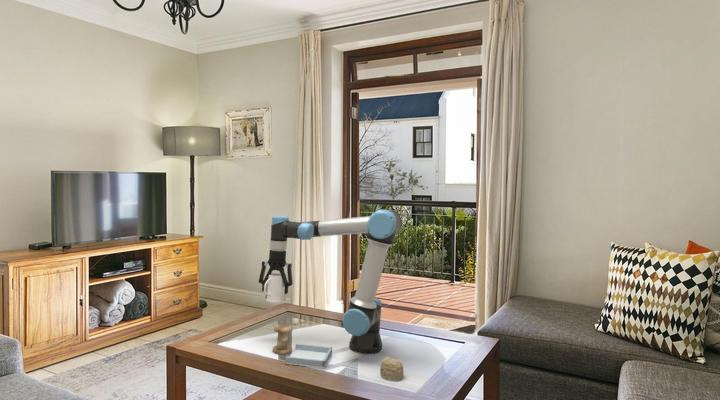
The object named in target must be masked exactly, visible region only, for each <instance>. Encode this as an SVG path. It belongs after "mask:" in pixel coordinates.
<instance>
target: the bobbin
mask: <svg viewBox="0 0 720 400" xmlns="http://www.w3.org/2000/svg"><path fill="white" fill-rule="evenodd" d="M293 329H294V327H293V326H292V325H290V324H276V325H274V326H273V331H274V332H276V333H277V336H276V338H277V340H276V345H274V346H272V349H271V350H272V353H273V354H276V355H287V354H290V353H291V352H292V346H289V345H288V342H289V341H288V338H289V333H291V332H292V331H293Z"/></svg>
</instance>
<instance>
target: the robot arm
mask: <svg viewBox="0 0 720 400" xmlns="http://www.w3.org/2000/svg"><path fill="white" fill-rule="evenodd" d="M270 226H271V227H270V240H269V241H270V242H269V250H268V252H269V255H268V260H264V261H261V269H260V275H259V277H258V284H261V292H263V300H266V297H267V295H266V294H265V292H264V286H265V283H266V281H267V280H268V277H269V275H271V273H273V271H277V272H278V273H281V276H282V279H283V282H284V285H285V286H284V287H283V293H282V301H283V302H284V303H285V301H286V297H287V295H288V293H289V287H291V286H292V285H293V283H294V282H293V274H292V273H293V272H292V267H293V264H292V262H291V263H289V262H287V259H286V258H287V251H286V250H287V247H288V246H287V245H288V239H295V240H297V239H298V240H302V241H304V240H305V241H306V240H307V241H309V240H312V239H313V238H319V237H320V238H321V237H332V236H343V235H346V236H347V235H357V234H358V235H359V234H367V235H366V236H365V237H366V239H367V241H368V245H367V248H366V252H365V256H364V259H363V263H362V267H361V272H360V276H359V279H358V283H357V288H356V291H355V294H354V296H352V297H351V298H350V300H349V302H348V303H349V304H348V307H347V310H346V311H345V312H344V314H343V316H342V320H341V321H342V325H343V329H344V330H345V332H347V333H348V334H350V335H351V336H350V337H351V338H350V339H349V345H348V348H349V349H350V350H351V351H352V352H355V353H358V354H359V353H360V354H365V355H367V354H368V355H374V354H378V353H381V352H382V351H383V342H382V337H381V333H380V331H381V330H380V327H381V316H382V307H383V305H382V300H381V299H379V298H376V296H377V292H378V288H379V285H380V282H381V277H382V273H383V270H384V266H385V263H386V259H387V254H388V250H389V249H390V247H392V246H394V242H395V239H396V235H397V234H399V232H400V231H401V229H402V226H403V219H402V216H401V215H400V213H398V212H397V211H395V210H392V209H377V210H376V211H375V212H373V213H371V215H368V216H366V215H365V216H358V217H357V216H355V217H348V218H346V217H345V218H336V219H335V218H334V219H324V220H311V221H290V218H289V217H288V216H285V215H273V216H272V219H271V225H270ZM267 266H269V268H268V270H267ZM285 267H286V268H287V269H286V270H287V274H286V273H285ZM266 270H267V272H266ZM265 274H266V275H265ZM285 274H286V275H285ZM267 285H268V283H267ZM267 285H266V292H267ZM283 302H282V303H283ZM381 350H382V351H381ZM380 351H381V352H380Z"/></svg>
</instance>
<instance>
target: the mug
mask: <svg viewBox="0 0 720 400" xmlns="http://www.w3.org/2000/svg"><path fill="white" fill-rule="evenodd" d="M285 275H286V276H287V274H286V273H285ZM267 284H268V285H267ZM266 285H267V292H266ZM284 286H285V285H284V282H283V279H282V276H281V273H280V272H272V273H271V275H269V277H268V280H267V281H266V283H265V286H264V292H265V294H266V295H267V297H266V299H265V301H266V302H267V303H273V304H279V303H283V301H282V293H283V287H284ZM264 292H263V293H264Z"/></svg>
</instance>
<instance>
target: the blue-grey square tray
mask: <svg viewBox="0 0 720 400" xmlns="http://www.w3.org/2000/svg"><path fill="white" fill-rule="evenodd" d="M289 355H290V356H287V355H286V356H284V359H285V360H284V364H285V363H287V364H295V365H300V366H299V367H301V366H306V367H305V368H313V369H320V370H325V368H326V366H327V364H328V363H329V361H330V359H331V358H332V355H333V347H329V346H322V345H321V346H320V345H313V344H302V343H295V347H294V350H293V352H292V353H291V354H289Z"/></svg>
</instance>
